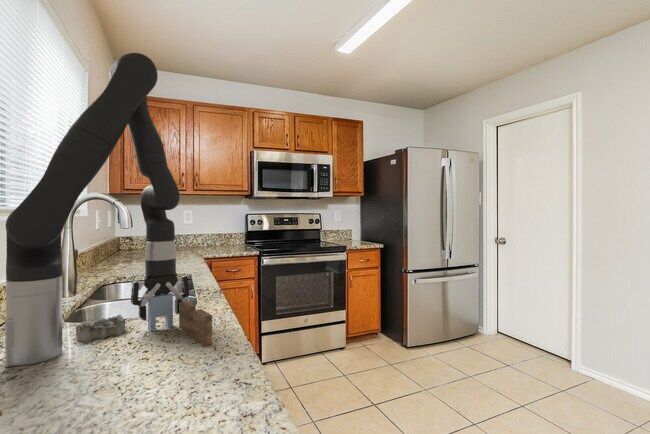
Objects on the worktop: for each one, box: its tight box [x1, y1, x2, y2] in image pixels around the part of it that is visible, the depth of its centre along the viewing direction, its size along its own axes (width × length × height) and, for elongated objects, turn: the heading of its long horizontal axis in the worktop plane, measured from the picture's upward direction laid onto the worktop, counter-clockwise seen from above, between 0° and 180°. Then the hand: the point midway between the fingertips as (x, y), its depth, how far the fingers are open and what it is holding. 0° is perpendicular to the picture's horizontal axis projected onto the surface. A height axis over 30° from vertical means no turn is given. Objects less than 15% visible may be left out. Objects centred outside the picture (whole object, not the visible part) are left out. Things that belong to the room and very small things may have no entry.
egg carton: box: [74, 314, 127, 342], centre depth 88 cm, size 11×8×4 cm
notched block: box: [147, 292, 174, 332], centre depth 92 cm, size 6×3×9 cm, turn 131°
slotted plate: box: [178, 300, 213, 348], centre depth 86 cm, size 2×18×7 cm, turn 41°
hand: (161, 316), depth 92 cm, fingers open, 8 cm apart
